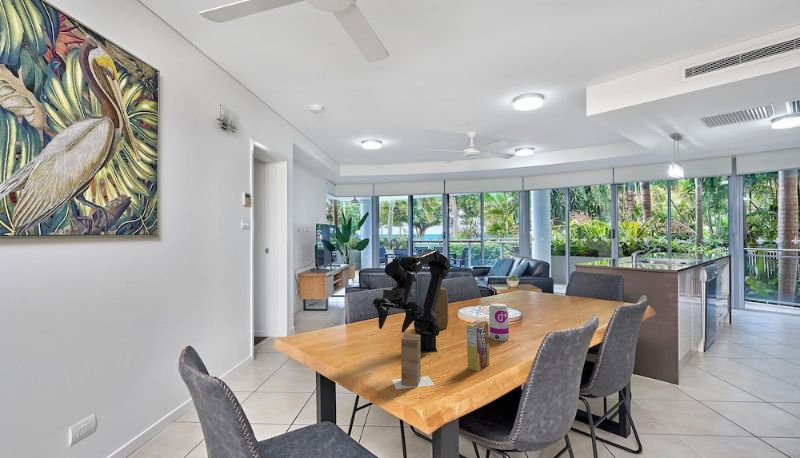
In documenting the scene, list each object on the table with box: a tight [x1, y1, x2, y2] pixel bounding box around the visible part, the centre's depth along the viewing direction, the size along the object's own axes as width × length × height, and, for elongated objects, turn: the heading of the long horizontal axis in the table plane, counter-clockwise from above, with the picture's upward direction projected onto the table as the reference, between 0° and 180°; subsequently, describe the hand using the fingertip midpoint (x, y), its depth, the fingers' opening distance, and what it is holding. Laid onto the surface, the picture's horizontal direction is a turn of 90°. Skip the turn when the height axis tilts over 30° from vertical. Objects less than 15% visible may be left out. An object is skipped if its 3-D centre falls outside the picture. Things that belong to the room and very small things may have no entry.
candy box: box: [466, 319, 491, 373], centre depth 120 cm, size 9×4×15 cm, turn 140°
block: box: [434, 286, 449, 330], centre depth 174 cm, size 11×8×20 cm
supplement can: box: [488, 302, 510, 342], centre depth 154 cm, size 8×8×15 cm
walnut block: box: [400, 333, 422, 388], centre depth 107 cm, size 5×5×14 cm
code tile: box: [391, 375, 435, 390], centre depth 107 cm, size 12×7×1 cm, turn 102°
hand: (390, 330), depth 118 cm, fingers open, 9 cm apart
